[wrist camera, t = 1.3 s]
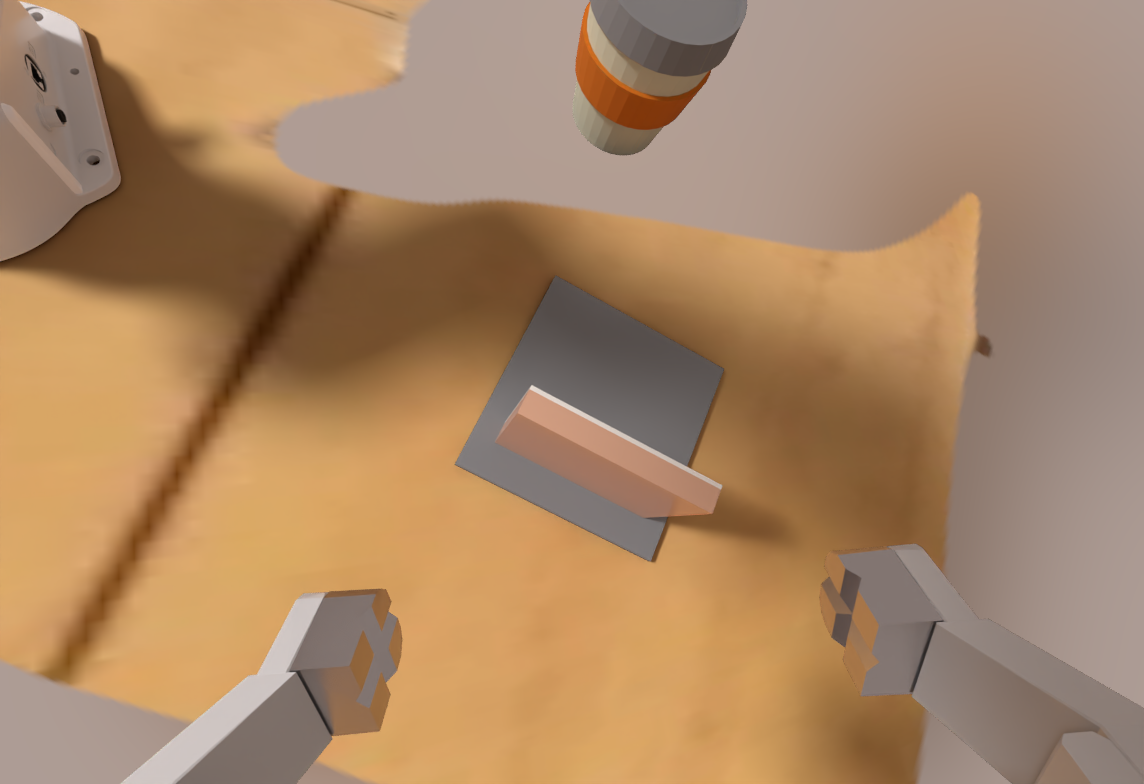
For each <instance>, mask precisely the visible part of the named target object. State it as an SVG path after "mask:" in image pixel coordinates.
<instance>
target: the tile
mask: <svg viewBox="0 0 1144 784" xmlns="http://www.w3.org/2000/svg"><path fill="white" fill-rule="evenodd" d="M495 443H497V444H499V445H501V446H503V447H505V448H507V449H509V450H511V451H512V452H514V453H516V454H518V455H520V456H522V457H524V458H526V459H528V460H530V461H532V462H534V463H536V464H538V465H540V466H542V467H544V468H546V469H548V470H550V471H552V472H554V473H556V474H558V475H560V476H562V477H564V478H566V479H568V480H570V481H572V482H574V483H575V484H577V485H579V486H581V487H583V488H585V489H587V490H589V491H591V492H593V493H595V494H597V495H599V496H601V497H603V498H605V499H607V500H609V501H611V502H613V503H615V504H617V505H619V506H621V507H623V508H625V509H627V510H629V511H631V512H633V513H635V514H636V515H638V516H640V517H642V518H649V517H667V516H684V515H702V514H713V511H714V508H715V505H716V503H717V500H718V497H719V494H720V491H721V488H722V486H723V485H721V484H719V483H717V482H715V481H713V480H711V479H709V478H707V477H706V476H704V475H702V474H700V473H698V472H696V471H694V470H692V469H690V468H688V467H687V466H685V465H683V464H681V463H679V462H677V461H675V460H673V459H671V458H669V457H668V456H666V455H664V454H662V453H660V452H658V451H656V450H654V449H652V448H650V447H648V446H647V445H645V444H643V443H641V442H639V441H637V440H635V439H633V438H631V437H629V436H628V435H626V434H624V433H622V432H620V431H618V430H616V429H614V428H612V427H610V426H609V425H607V424H605V423H603V422H601V421H599V420H597V419H595V418H593V417H591V416H590V415H588V414H586V413H584V412H582V411H580V410H578V409H576V408H574V407H572V406H571V405H569V404H567V403H565V402H563V401H561V400H559V399H557V398H555V397H553V396H552V395H550V394H548V393H546V392H544V391H542V390H540V389H538V388H536V387H534V386H533V385H531V387H530V388H529V389H528V391H527V392H526V394H525V395H524V396H523V398H522V399H521V400H520V402H519V403H518V405H517V406H516V407H515V409H514V410H513V411H512V413H511V414H510V416H509V417H508V418H507V420H506V421H505V423H504V425H503V427H502V429H501V431H500V433H499V435H498V437H497V439H496V441H495Z"/></svg>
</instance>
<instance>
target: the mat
mask: <svg viewBox="0 0 1144 784" xmlns="http://www.w3.org/2000/svg"><path fill="white" fill-rule="evenodd" d="M723 371H724V369H723V368H722V367H720V366H718V365H716V364H714V363H713V362H711V361H709V360H707V359H705V358H704V357H702V356H700V355H698V354H696V353H694V352H693V351H691V350H689V349H687V348H685V347H684V346H682V345H680V344H678V343H676V342H675V341H673V340H671V339H669V338H667V337H666V336H664V335H662V334H660V333H658V332H657V331H655V330H653V329H651V328H649V327H648V326H646V325H644V324H642V323H640V322H639V321H637V320H635V319H633V318H631V317H630V316H628V315H626V314H624V313H622V312H621V311H619V310H617V309H615V308H613V307H612V306H610V305H608V304H606V303H604V302H603V301H601V300H599V299H597V298H595V297H594V296H592V295H590V294H588V293H586V292H585V291H583V290H581V289H579V288H577V287H576V286H574V285H572V284H570V283H568V282H567V281H565V280H563V279H561V278H559V277H558V276H555V277H554V279H553V281H552V283H551V285H550V287H549V289H548V291H547V292H546V294H545V296H544V298H543V300H542V302H541V304H540V306H539V307H538V309H537V311H536V313H535V315H534V317H533V319H532V320H531V322H530V324H529V326H528V328H527V330H526V332H525V334H524V335H523V337H522V339H521V341H520V343H519V345H518V347H517V349H516V350H515V352H514V354H513V356H512V358H511V360H510V362H509V364H508V365H507V367H506V369H505V371H504V373H503V375H502V377H501V379H500V380H499V382H498V384H497V386H496V388H495V390H494V392H493V394H492V395H491V397H490V399H489V401H488V403H487V405H486V407H485V409H484V410H483V412H482V414H481V416H480V418H479V420H478V422H477V424H476V425H475V427H474V429H473V431H472V433H471V435H470V437H469V439H468V440H467V442H466V444H465V446H464V448H463V450H462V452H461V454H460V455H459V457H458V459H457V461H456V463H455V465H456V466H458V467H460V468H462V469H464V470H466V471H468V472H470V473H472V474H474V475H476V476H478V477H480V478H482V479H484V480H486V481H488V482H490V483H492V484H494V485H496V486H498V487H500V488H502V489H504V490H506V491H508V492H510V493H512V494H515V495H517V496H519V497H521V498H523V499H525V500H527V501H529V502H531V503H533V504H535V505H537V506H539V507H541V508H543V509H545V510H547V511H549V512H551V513H553V514H555V515H557V516H559V517H561V518H563V519H565V520H567V521H569V522H571V523H573V524H575V525H577V526H579V527H581V528H583V529H585V530H587V531H589V532H591V533H593V534H595V535H597V536H599V537H601V538H603V539H605V540H607V541H609V542H611V543H613V544H615V545H617V546H619V547H621V548H623V549H625V550H627V551H629V552H631V553H633V554H635V555H637V556H639V557H641V558H643V559H645V560H647V561H651V560H652V557H653V554H654V552H655V549H656V546H657V544H658V541H659V539H660V536H661V533H662V531H663V528H664V525H665V523H666V520H667V518H668V516H667V517H649V518H642V517H640V516H638V515H636V514H635V513H633V512H631V511H629V510H627V509H625V508H623V507H621V506H619V505H617V504H615V503H613V502H611V501H609V500H607V499H605V498H603V497H601V496H599V495H597V494H595V493H593V492H591V491H589V490H587V489H585V488H583V487H581V486H579V485H577V484H575V483H574V482H572V481H570V480H568V479H566V478H564V477H562V476H560V475H558V474H556V473H554V472H552V471H550V470H548V469H546V468H544V467H542V466H540V465H538V464H536V463H534V462H532V461H530V460H528V459H526V458H524V457H522V456H520V455H518V454H516V453H514V452H512V451H511V450H509V449H507V448H505V447H503V446H501V445H499V444H497V443H495V441H496V439H497V437H498V435H499V433H500V431H501V429H502V427H503V425H504V423H505V421H506V420H507V418H508V417H509V416H510V414H511V413H512V411H513V410H514V409H515V407H516V406H517V405H518V403H519V402H520V400H521V399H522V398H523V396H524V395H525V394H526V392H527V391H528V389H529V388H530V387H531V385H533V386H534V387H536V388H538V389H540V390H542V391H544V392H546V393H548V394H550V395H552V396H553V397H555V398H557V399H559V400H561V401H563V402H565V403H567V404H569V405H571V406H572V407H574V408H576V409H578V410H580V411H582V412H584V413H586V414H588V415H590V416H591V417H593V418H595V419H597V420H599V421H601V422H603V423H605V424H607V425H609V426H610V427H612V428H614V429H616V430H618V431H620V432H622V433H624V434H626V435H628V436H629V437H631V438H633V439H635V440H637V441H639V442H641V443H643V444H645V445H647V446H648V447H650V448H652V449H654V450H656V451H658V452H660V453H662V454H664V455H666V456H668V457H669V458H671V459H673V460H675V461H677V462H679V463H681V464H683V465H685V466H687V465H688V463H689V460H690V457H691V455H692V452H693V450H694V447H695V444H696V442H697V439H698V436H699V434H700V431H701V429H702V426H703V423H704V421H705V418H706V415H707V413H708V410H709V408H710V405H711V402H712V400H713V397H714V395H715V392H716V389H717V387H718V384H719V381H720V379H721V376H722V374H723Z"/></svg>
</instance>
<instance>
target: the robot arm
mask: <svg viewBox="0 0 1144 784" xmlns="http://www.w3.org/2000/svg"><path fill="white" fill-rule="evenodd" d="M97 161H100V162H99V164H97V165H92V164H93V163H94V162H97ZM120 182H121V176H120V171H119V167H118V163H117V159H116V155H115V151H114V147H113V143H112V139H111V135H110V130H109V126H108V122H107V118H106V114H105V110H104V106H103V102H102V98H101V94H100V89H99V85H98V81H97V77H96V73H95V69H94V65H93V61H92V57H91V53H90V49H89V45H88V41H87V38H86V35H85V33H84V32H83V30H82V29H81V28H80V27H79V26H78V25H77V24H76V23H75V22H74V21H72V20H70V19H69V18H67V17H65V16H63V15H61V14H59V13H56V12H54V11H51V10H49V9H46V8H43V7H40V6H37V5H33V4H29V3H25V2H21V1H18V0H0V261H3V260H6V259H9V258H12V257H15V256H18V255H20V254H23V253H25V252H27V251H29V250H31V249H33V248H35V247H37V246H39V245H40V244H42V243H44V242H45V241H47V240H48V239H49V238H51V237H52V236H53V235H55V234H56V233H57V232H58V231H59V230H60V229H61V228H62V227H64V225H65V224H66V223H67V222H68V221H69V220H70V219H71V218H72V217H73V216H74V215H75V214H76V213H77V212H78V211H79V210H80V209H81V208H83V207H84V206H85V205H88V204H90V203H92V202H94V201H96V200H98V199H100V198H102V197H104V196H106V195H108V194H110V193H111V192H113V191H114V190H115V189H116V188H117V187H118V186H119V185H120ZM824 567H825V569H826V571H827V573H828V575H829V577H828V578H827V579H826V580H825V581H824V582H823V583H822V584H821V590H820V605H821V612H822V615H823V619H824V622H825V625H826V627H827V629H828V631H829V633H830V635H831V637H832V638H833V639H834V640H836V641H837V642H838V643H840V644H841V645H842V646H844V647H845V651H844V656H843V662H844V664H845V666H846V668H847V670H848V672H849V674H850V676H851V678H852V680H853V682H854V684H855V686H856V688H857V690H858V692H859V694H860V696H878V695H900V694H912V697H913V698H914V699H915V700H916V701H917V702H918V703H920V704H921V705H922V706H923V707H924V708H925V709H927V710H928V711H929V712H930V713H931V714H932V715H933V716H935V717H936V718H937V719H938V720H939V721H940V722H942V723H943V724H944V725H945V726H946V727H947V728H948V729H950V730H951V731H952V732H953V733H954V734H955V735H956V736H958V737H959V738H960V739H961V740H962V741H963V742H965V743H966V744H967V745H968V746H969V747H970V748H972V749H973V750H974V751H975V752H976V753H977V754H978V755H980V756H981V757H982V758H983V759H984V760H985V761H986V762H988V763H989V764H990V765H991V766H992V767H994V768H995V769H996V770H997V771H998V772H999V773H1000V774H1001V775H1003V776H1004V777H1005V778H1006V779H1007V780H1008V781H1010V782H1011V783H1012V784H1144V708H1143V707H1141V706H1139V705H1137V704H1136V703H1134V702H1132V701H1130V700H1129V699H1127V698H1125V697H1124V696H1122V695H1120V694H1118V693H1117V692H1115V691H1113V690H1111V689H1110V688H1108V687H1106V686H1104V685H1103V684H1101V683H1099V682H1098V681H1096V680H1094V679H1092V678H1091V677H1089V676H1087V675H1085V674H1083V673H1082V672H1080V671H1078V670H1077V669H1075V668H1073V667H1071V666H1070V665H1068V664H1066V663H1065V662H1063V661H1061V660H1059V659H1058V658H1056V657H1054V656H1052V655H1051V654H1049V653H1047V652H1045V651H1044V650H1042V649H1040V648H1038V647H1037V646H1035V645H1033V644H1031V643H1030V642H1028V641H1026V640H1024V639H1023V638H1021V637H1019V636H1018V635H1016V634H1014V633H1012V632H1010V631H1009V630H1007V629H1005V628H1003V627H1002V626H1000V625H998V624H997V623H995V622H993V621H992V620H990V619H979V618H978V617H977V616H976V615H975V613H974V612H973V611H972V610H971V608H970V607H969V606H968V604H967V603H966V602H965V601H964V599H963V598H962V597H961V596H960V594H959V593H958V592H957V591H956V589H955V588H954V587H953V586H952V584H951V583H950V582H949V581H948V579H947V578H946V577H945V576H944V574H943V573H942V572H941V570H940V569H939V568H938V567H937V565H936V564H935V563H934V562H933V560H932V559H931V558H930V557H929V555H928V554H927V553H926V552H925V550H924V549H923V548H922V547H920V546H919V545H917V544H907V545H896V546H887V547H883V546H882V547H871V548H860V549H850V550H839V551H830V552H829V553H828V555H827V556H826V560H825V565H824ZM390 605H391V599H390V597H389V595H388V592H387V590H386V589H367V590H349V591H331V592H320V593H304V594H302V595H301V596H300V597H299V598H298V599H297V600H296V601H295V603H294V605H293V607H292V609H291V610H290V612H289V614H288V616H287V618H286V620H285V622H284V624H283V626H282V628H281V630H280V632H279V633H278V635H277V637H276V639H275V641H274V643H273V645H272V647H271V649H270V651H269V653H268V654H267V656H266V658H265V660H264V662H263V664H262V666H261V668H260V670H259V672H258V674H257V675H249V676H247V677H246V678H245V679H244V680H243V681H242V682H240V683H239V684H238V685H237V686H236V687H234V688H233V689H232V690H231V691H230V692H228V693H227V694H226V695H225V696H224V697H223V698H221V699H220V700H219V701H218V702H217V703H215V704H214V705H213V706H212V707H211V708H209V709H208V710H207V711H206V712H205V713H204V714H202V715H201V716H200V717H199V718H198V719H196V720H195V721H194V722H193V723H192V724H191V725H189V726H188V727H187V728H186V729H185V730H183V731H182V732H181V733H180V734H179V735H177V736H176V737H175V738H174V739H173V740H172V741H170V742H169V743H168V744H167V745H166V746H164V747H163V748H162V749H161V750H160V751H158V752H157V753H156V754H155V755H154V756H153V757H151V758H150V759H149V760H148V761H147V762H146V763H144V764H143V765H142V766H141V767H139V768H138V769H137V770H136V771H135V772H134V773H132V774H131V775H130V776H129V777H128V778H126V779H125V780H124V781H123V782H122V783H120V784H297V782H298V781H299V780H300V779H301V777H302V776H303V775H304V774H305V773H306V771H307V770H308V769H309V767H310V766H311V765H312V764H313V763H314V761H315V760H316V759H317V758H318V756H319V755H320V754H321V753H322V751H323V750H324V749H325V748H326V747H327V745H328V744H329V743H330V742H331V740H332V737H331V736H339V735H348V734H358V733H368V732H378V731H380V729H381V726H382V722H383V719H384V715H385V712H386V708H387V705H388V701H389V698H390V692H389V689H388V687H387V684H386V682H387V681H388V680H389V679H390V678H391V677H392V676H393V675H394V674H395V672H396V671H397V669H398V666H399V662H400V658H401V650H402V633H401V626H400V623H399V621H398V618H397V617H395V616H394V615H392V614H391V613H390V612H388V611H389V608H390Z"/></svg>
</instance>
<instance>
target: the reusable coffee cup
mask: <svg viewBox="0 0 1144 784" xmlns="http://www.w3.org/2000/svg"><path fill="white" fill-rule="evenodd" d="M746 9H747V0H590V2H589V4H588V5H587V7H586V9H585V12H584V16H583V20H582V26H581V32H580V38H579V45H578V50H577V57H576V76H577V83H576V89H575V95H574V101H573V116H574V120H575V123H576V125H577V127H578V129H579V130H580V132H581V134H582V135H583V136H584V137H585V138H586V139H587V140H588V141H589V142H590V143H591V144H593V145H594V146H595V147H597V148H599V149H601V150H602V151H605V152H608V153H611V154H616V155H631V154H635V153H638V152H640V151H642V150H643V149H645V148H646V147H647V146H648V145H649V144H650V142H651V141H652V140H653V139H654V137H655V136H656V135H657V134H658V133H659V131H660V130H661V129H662V128H663V127H664V126H666V125H668V124H669V123H670V122H672V121H673V120H675V119H676V117H677V116H678V115H679V114H680V113H681V112H682V110H683V109H684V108H685V107H686V105H687V104H688V103H689V102H690V101H691V100H692V98H693V97H694V96H695V95H696V94H697V92H698V91H699V90H700V89H701V88H702V86H703V85H704V84H705V83H706V81H707V79H708V77H709V75H710V73H711V70H712V69H713V68H715V67H716V66H717V65H719V64H720V63H721V62H722V60H723V59H724V58H725V57H726V55H727V53H728V51H729V49H730V47H731V45H732V43H733V41H734V39H735V37H736V35H737V33H738V31H739V29H740V26H741V24H742V22H743V20H744V18H745V15H746Z"/></svg>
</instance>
